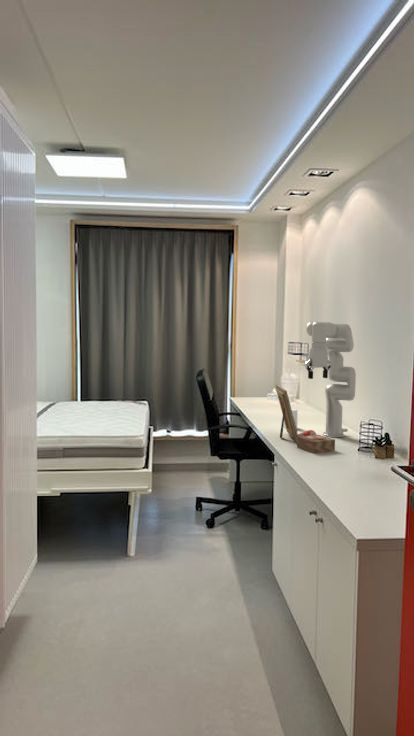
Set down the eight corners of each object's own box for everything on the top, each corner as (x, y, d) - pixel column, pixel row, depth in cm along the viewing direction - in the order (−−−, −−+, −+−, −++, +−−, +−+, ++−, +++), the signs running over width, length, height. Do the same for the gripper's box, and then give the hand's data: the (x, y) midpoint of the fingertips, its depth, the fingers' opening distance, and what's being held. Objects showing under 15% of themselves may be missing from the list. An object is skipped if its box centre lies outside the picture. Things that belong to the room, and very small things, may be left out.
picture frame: (300, 444, 294) (301, 390, 292) (282, 444, 294) (283, 390, 292) (289, 433, 327) (291, 384, 324) (273, 432, 326) (275, 384, 324)
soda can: (303, 436, 304) (292, 440, 294) (310, 426, 301) (299, 430, 291) (313, 444, 301) (302, 449, 291) (320, 435, 298) (309, 439, 288)
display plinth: (317, 445, 293) (318, 433, 292) (334, 450, 280) (335, 438, 280) (297, 447, 287) (297, 436, 286) (313, 453, 274) (313, 441, 274)
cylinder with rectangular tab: (299, 427, 344) (300, 409, 343) (292, 429, 338) (292, 410, 337) (288, 425, 350) (288, 407, 350) (280, 427, 344) (280, 409, 343)
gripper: (327, 345, 287) (326, 377, 288) (301, 345, 279) (300, 378, 280) (336, 346, 280) (335, 378, 281) (310, 346, 272) (309, 379, 274)
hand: (317, 378), depth 281 cm, fingers open, 9 cm apart
